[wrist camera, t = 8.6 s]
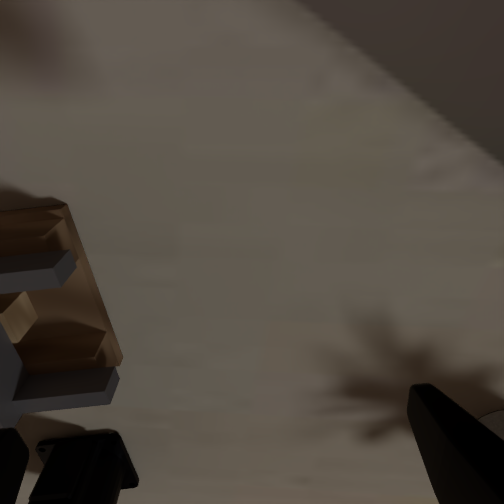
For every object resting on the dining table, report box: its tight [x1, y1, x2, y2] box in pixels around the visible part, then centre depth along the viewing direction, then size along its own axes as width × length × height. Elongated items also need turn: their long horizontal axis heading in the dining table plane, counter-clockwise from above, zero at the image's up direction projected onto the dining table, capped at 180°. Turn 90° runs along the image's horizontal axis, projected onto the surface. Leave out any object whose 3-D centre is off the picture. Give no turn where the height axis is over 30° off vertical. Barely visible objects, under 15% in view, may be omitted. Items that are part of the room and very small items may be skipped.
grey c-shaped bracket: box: [0, 249, 120, 428], centre depth 18 cm, size 9×7×3 cm
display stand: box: [0, 204, 123, 375], centre depth 20 cm, size 11×7×3 cm, turn 6°
